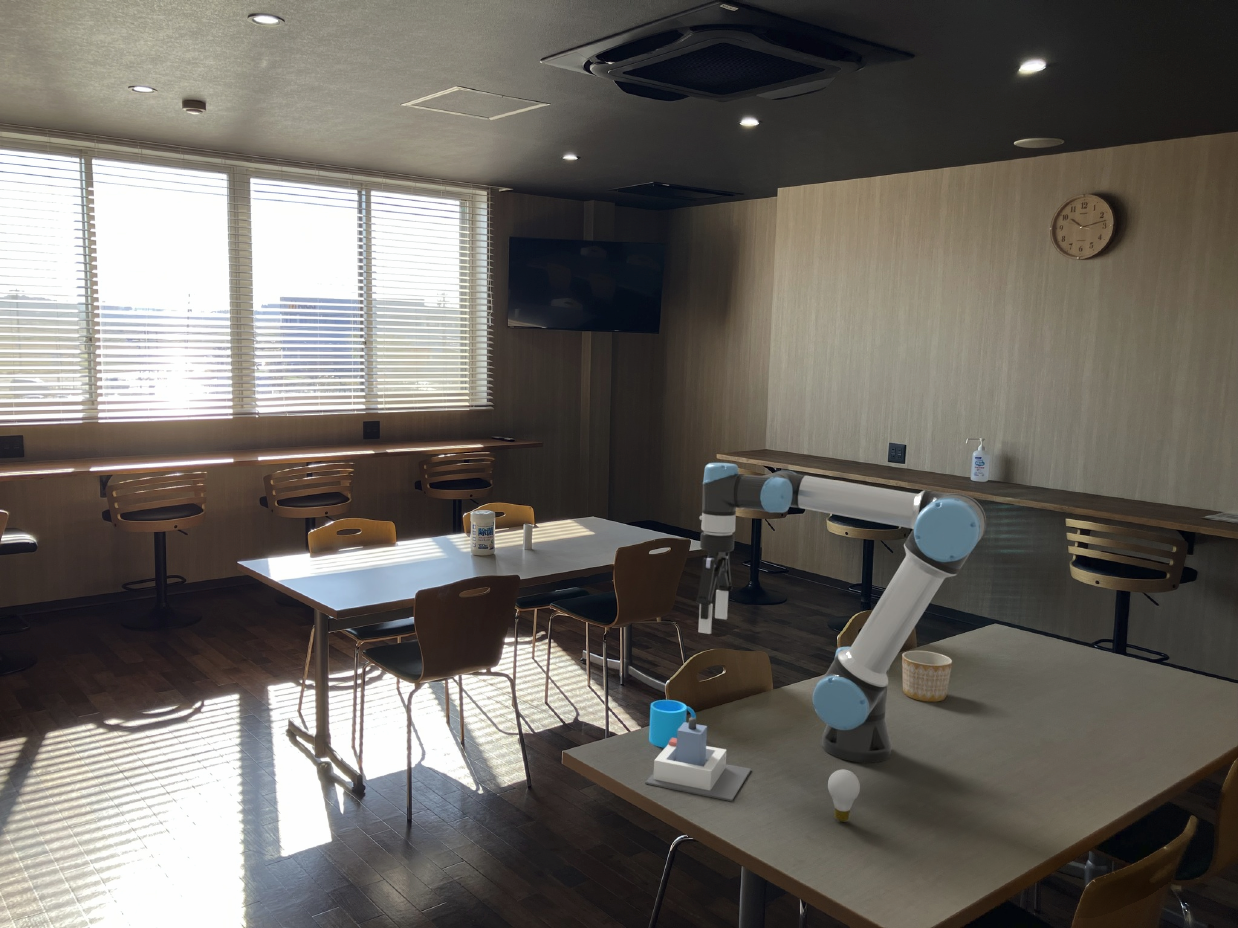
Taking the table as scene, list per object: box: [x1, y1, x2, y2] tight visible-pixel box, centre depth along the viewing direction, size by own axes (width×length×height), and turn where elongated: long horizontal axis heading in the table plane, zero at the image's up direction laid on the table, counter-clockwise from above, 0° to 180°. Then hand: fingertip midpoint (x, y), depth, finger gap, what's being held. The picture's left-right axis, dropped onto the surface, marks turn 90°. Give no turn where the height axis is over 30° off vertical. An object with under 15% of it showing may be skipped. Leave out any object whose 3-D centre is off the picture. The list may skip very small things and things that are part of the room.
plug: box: [676, 716, 708, 766], centre depth 198 cm, size 5×5×10 cm
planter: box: [901, 650, 953, 703], centre depth 253 cm, size 13×13×10 cm
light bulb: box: [827, 769, 861, 823], centre depth 180 cm, size 6×6×10 cm
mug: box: [648, 699, 697, 749], centre depth 217 cm, size 12×8×8 cm
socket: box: [644, 738, 752, 802], centre depth 197 cm, size 18×16×5 cm
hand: (713, 625), depth 215 cm, fingers open, 13 cm apart
